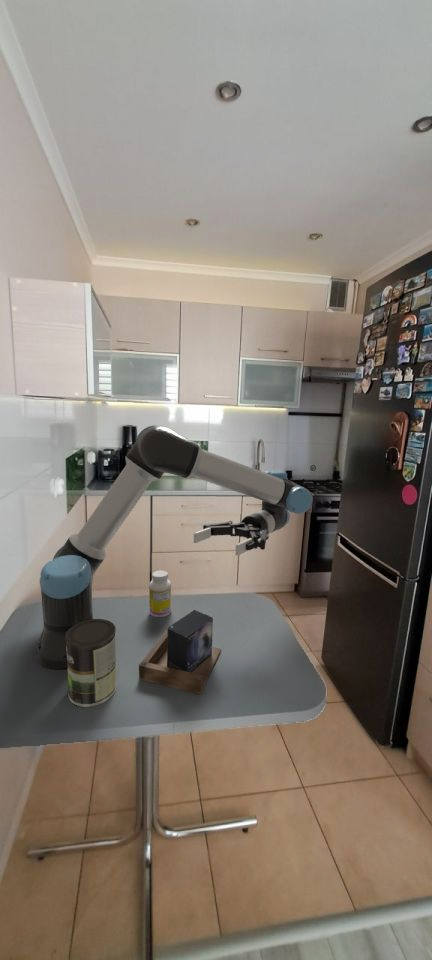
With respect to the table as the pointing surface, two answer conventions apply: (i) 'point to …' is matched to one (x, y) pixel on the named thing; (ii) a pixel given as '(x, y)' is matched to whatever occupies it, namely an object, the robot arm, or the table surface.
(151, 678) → the corner tray
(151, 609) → the supplement bottle
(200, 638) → the small box
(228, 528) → the robot arm
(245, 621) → the table surface
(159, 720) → the table surface
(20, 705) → the table surface
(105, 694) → the coffee can
